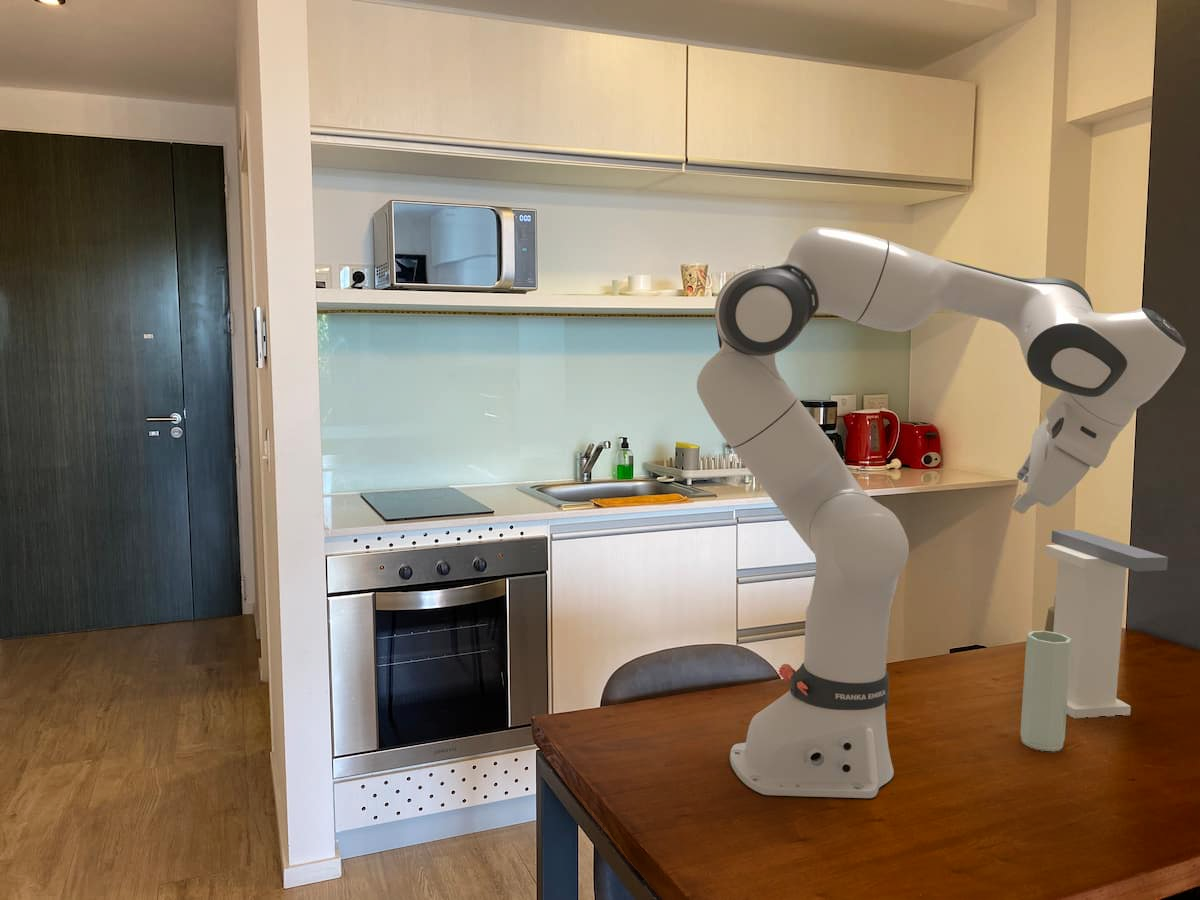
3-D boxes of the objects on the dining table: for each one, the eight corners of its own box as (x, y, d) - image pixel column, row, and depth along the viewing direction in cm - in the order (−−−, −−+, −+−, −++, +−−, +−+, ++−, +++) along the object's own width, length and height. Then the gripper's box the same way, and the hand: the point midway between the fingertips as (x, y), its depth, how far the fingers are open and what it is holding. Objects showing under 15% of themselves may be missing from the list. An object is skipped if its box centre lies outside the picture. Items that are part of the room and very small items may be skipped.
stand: (1073, 718, 146) (1085, 559, 143) (1035, 694, 156) (1045, 545, 153) (1130, 715, 148) (1142, 557, 144) (1088, 691, 157) (1099, 543, 154)
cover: (1136, 571, 136) (1137, 558, 135) (1051, 542, 155) (1052, 530, 155) (1166, 570, 136) (1168, 557, 136) (1078, 541, 156) (1078, 529, 156)
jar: (1036, 753, 133) (1043, 643, 131) (1013, 736, 139) (1019, 631, 137) (1071, 751, 134) (1079, 642, 132) (1047, 734, 140) (1054, 630, 138)
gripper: (1062, 380, 132) (1004, 450, 140) (1059, 439, 115) (993, 515, 123) (1103, 402, 131) (1042, 472, 139) (1105, 466, 114) (1036, 540, 122)
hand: (1019, 493), depth 131 cm, fingers open, 8 cm apart
